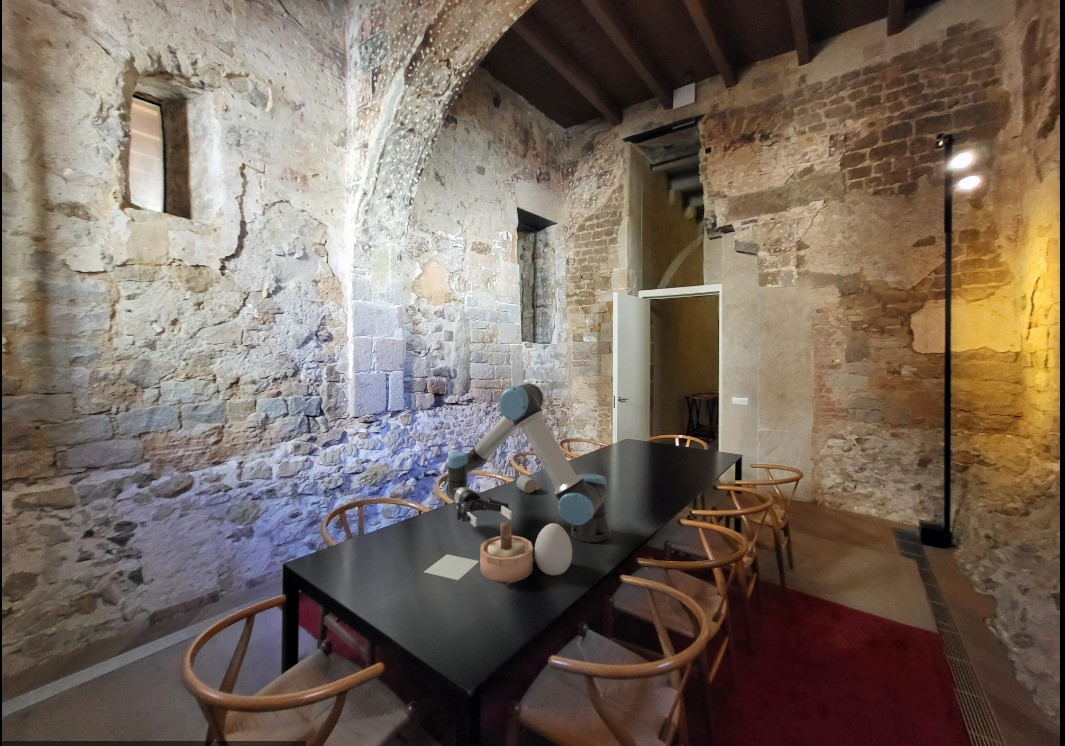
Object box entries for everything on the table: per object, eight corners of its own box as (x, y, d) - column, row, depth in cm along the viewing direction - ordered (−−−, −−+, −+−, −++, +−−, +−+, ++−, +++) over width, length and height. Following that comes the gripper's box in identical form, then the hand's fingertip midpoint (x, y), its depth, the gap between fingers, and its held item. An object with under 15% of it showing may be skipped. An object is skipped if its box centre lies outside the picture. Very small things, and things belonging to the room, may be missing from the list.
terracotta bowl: (540, 562, 148) (540, 540, 148) (519, 588, 133) (518, 563, 132) (495, 553, 155) (495, 532, 155) (470, 576, 140) (469, 553, 139)
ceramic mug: (524, 495, 215) (524, 479, 215) (515, 490, 222) (516, 475, 221) (542, 491, 221) (542, 476, 220) (533, 487, 228) (533, 472, 227)
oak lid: (530, 546, 147) (530, 520, 146) (515, 563, 136) (514, 534, 135) (498, 540, 151) (498, 514, 151) (480, 556, 140) (480, 528, 140)
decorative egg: (567, 558, 151) (566, 515, 150) (576, 576, 139) (576, 530, 138) (531, 561, 149) (531, 518, 148) (538, 580, 137) (537, 533, 136)
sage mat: (479, 562, 149) (479, 561, 149) (458, 581, 137) (458, 580, 137) (446, 555, 154) (446, 554, 154) (423, 573, 142) (423, 572, 142)
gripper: (496, 503, 177) (524, 523, 159) (436, 514, 163) (459, 536, 145) (496, 485, 176) (525, 502, 158) (436, 494, 162) (460, 514, 145)
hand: (493, 519), depth 152 cm, fingers open, 13 cm apart
